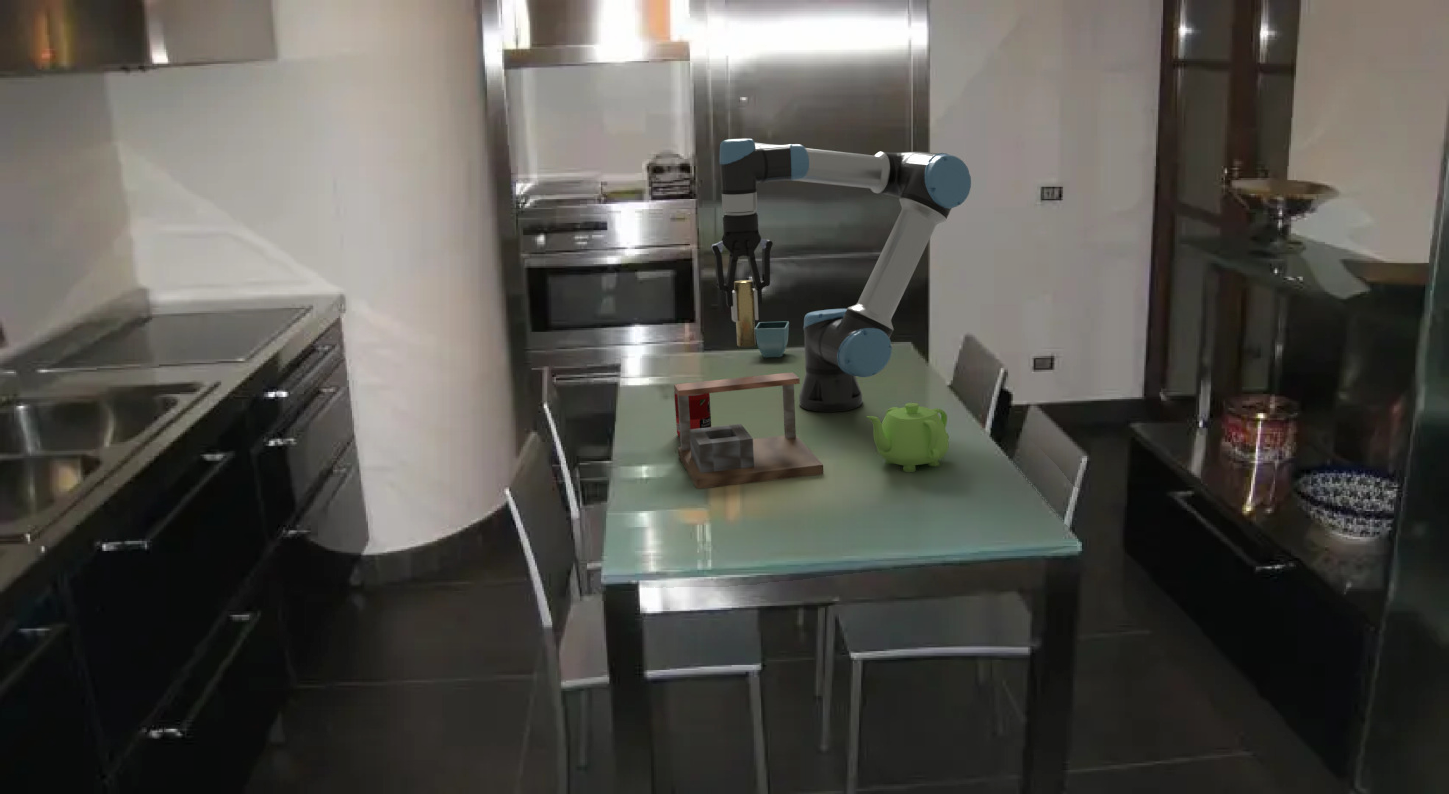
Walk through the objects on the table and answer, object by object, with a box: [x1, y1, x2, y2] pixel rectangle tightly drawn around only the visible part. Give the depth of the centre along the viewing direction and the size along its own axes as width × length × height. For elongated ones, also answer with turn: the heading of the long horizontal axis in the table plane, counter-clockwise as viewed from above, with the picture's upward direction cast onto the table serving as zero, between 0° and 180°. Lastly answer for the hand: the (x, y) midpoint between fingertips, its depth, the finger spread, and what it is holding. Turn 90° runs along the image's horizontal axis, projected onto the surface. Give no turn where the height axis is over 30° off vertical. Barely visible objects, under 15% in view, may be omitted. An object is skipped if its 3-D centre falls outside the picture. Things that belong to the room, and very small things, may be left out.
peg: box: [733, 279, 756, 348], centre depth 269 cm, size 4×4×14 cm
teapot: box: [866, 402, 950, 473], centre depth 250 cm, size 16×14×13 cm
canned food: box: [673, 389, 712, 438], centre depth 278 cm, size 8×8×11 cm
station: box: [673, 371, 824, 490], centre depth 255 cm, size 26×22×16 cm
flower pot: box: [755, 321, 790, 359], centre depth 348 cm, size 9×9×9 cm
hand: (745, 319), depth 269 cm, fingers closed on peg, 4 cm apart
